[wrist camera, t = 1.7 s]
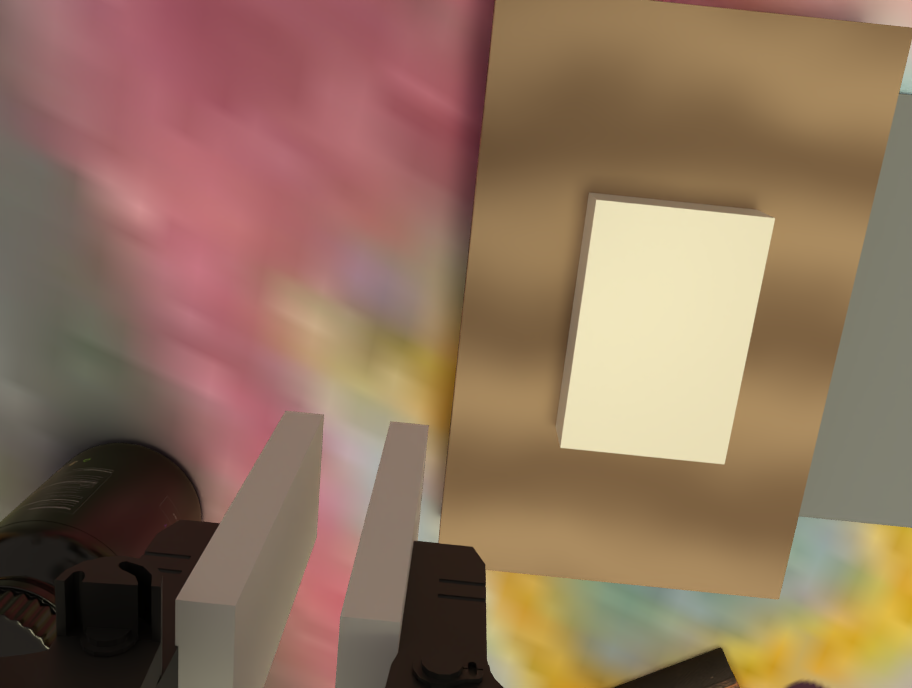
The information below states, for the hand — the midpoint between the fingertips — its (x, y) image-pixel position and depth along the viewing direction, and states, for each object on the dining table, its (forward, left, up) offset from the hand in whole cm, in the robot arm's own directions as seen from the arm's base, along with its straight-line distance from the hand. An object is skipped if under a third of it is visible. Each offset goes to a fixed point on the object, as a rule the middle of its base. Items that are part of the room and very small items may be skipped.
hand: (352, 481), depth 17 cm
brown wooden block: (0, +9, -19) cm, 21 cm away
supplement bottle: (+12, -12, -20) cm, 26 cm away
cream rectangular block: (0, +9, -15) cm, 18 cm away
